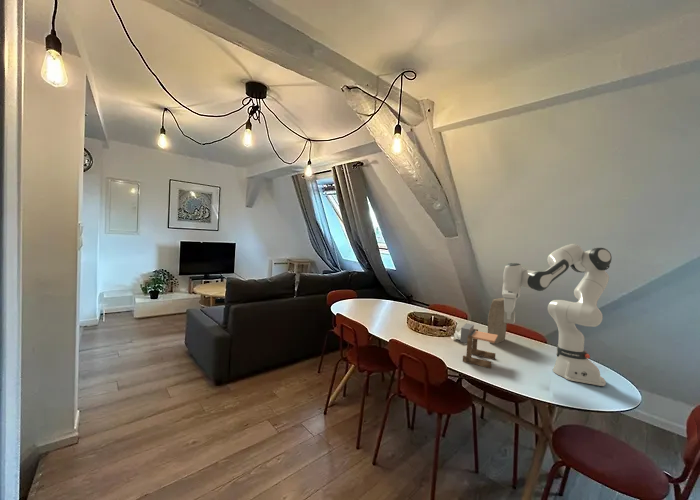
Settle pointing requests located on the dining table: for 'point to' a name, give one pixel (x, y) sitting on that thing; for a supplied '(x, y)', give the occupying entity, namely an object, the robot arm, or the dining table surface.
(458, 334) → the lotus flower
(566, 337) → the robot arm
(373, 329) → the dining table surface
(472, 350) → the frame
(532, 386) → the dining table surface
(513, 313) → the stone
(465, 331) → the hammer
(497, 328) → the stone tablet
